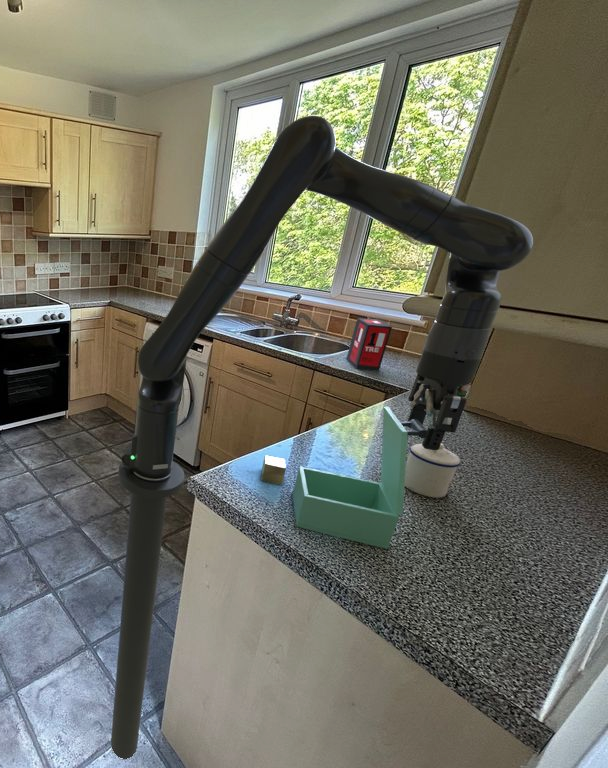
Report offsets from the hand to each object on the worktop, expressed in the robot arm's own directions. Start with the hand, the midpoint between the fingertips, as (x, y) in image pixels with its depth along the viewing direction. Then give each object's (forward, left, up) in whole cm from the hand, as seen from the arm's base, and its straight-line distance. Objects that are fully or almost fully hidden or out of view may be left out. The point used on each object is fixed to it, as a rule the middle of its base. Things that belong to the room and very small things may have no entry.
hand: (421, 437), depth 73 cm
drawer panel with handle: (-3, 0, -5) cm, 6 cm away
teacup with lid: (+12, +23, -21) cm, 33 cm away
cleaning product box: (+21, +131, -21) cm, 134 cm away
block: (-21, +11, -21) cm, 32 cm away
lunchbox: (-9, 0, -21) cm, 23 cm away
